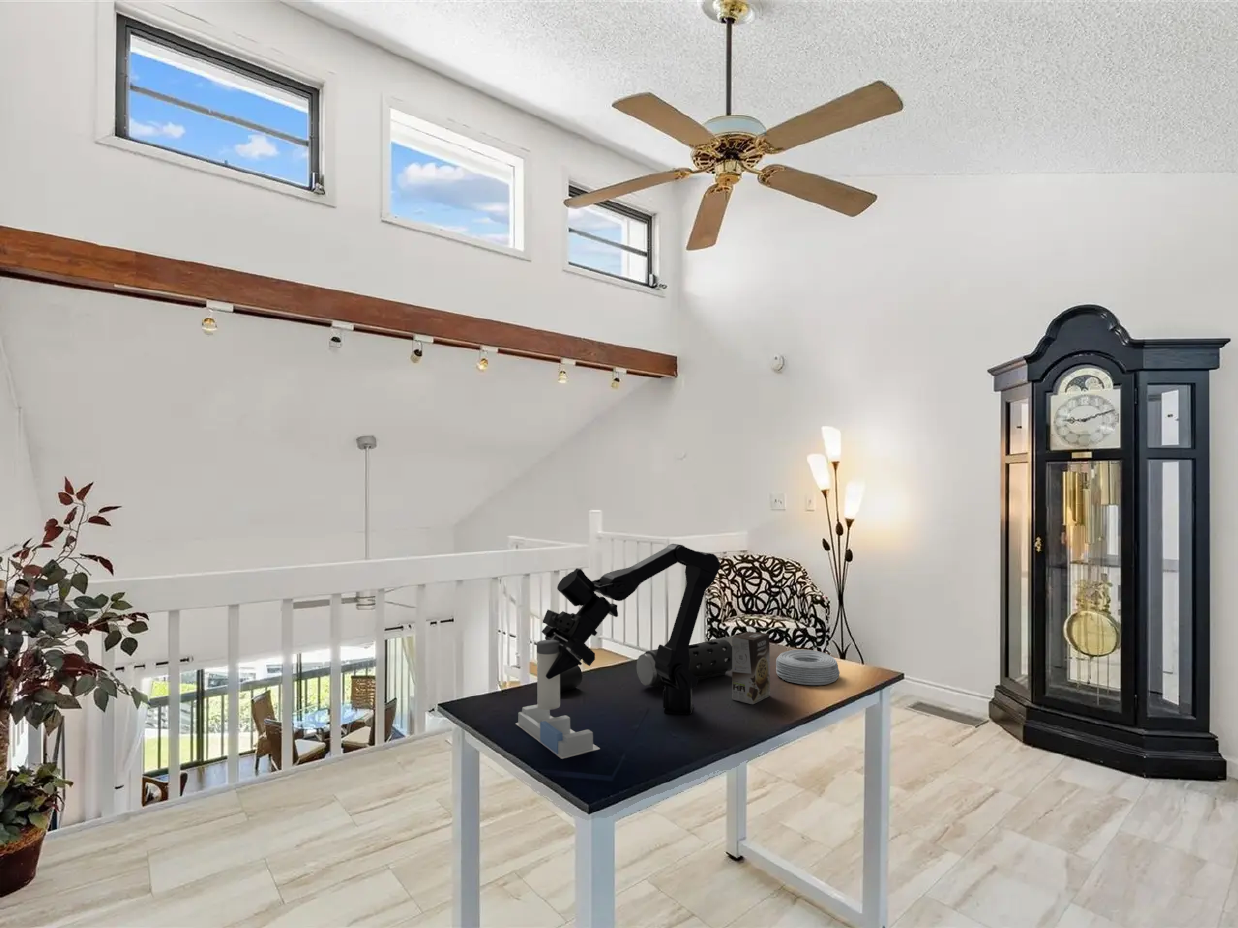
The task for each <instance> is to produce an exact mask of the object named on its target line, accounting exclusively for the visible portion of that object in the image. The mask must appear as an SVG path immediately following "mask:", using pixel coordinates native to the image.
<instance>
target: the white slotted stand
mask: <svg viewBox="0 0 1238 928" xmlns="http://www.w3.org/2000/svg"><path fill="white" fill-rule="evenodd" d="M517 716H518V720H517V721H518V722H516V723H515V725H516V726H518V727H519V728H521V729H522V730H523V731H524V732H526V733H527V734H528V735H530V736H531V737H532V738H533V739H535V740H536V741H538V742H539V743H540V744H542V745H543V746H544V747H545V748H547V749H548V750H549V751H551V752H552V753H553V754H555V755H556V756H557V757H559V758H560V759H562V760H563V759H567V758H570V757H574V756H579V755H583V754H587V753H590V752H595V751H598V750H601V748H600V747H598V745H595V744H594V732H593V731H592V730H590V729H583V730H580V731H575V730H573V729H572V728H571V717H570V716H568V715H565V714H564V715H561V716H556V717H554V716H552V715H551V710H543V709H539V708H538V707H537V704H533V705H527V706H523V707H522V709H521V711H519V712H518V714H517Z"/></svg>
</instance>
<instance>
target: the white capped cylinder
mask: <svg viewBox="0 0 1238 928" xmlns="http://www.w3.org/2000/svg"><path fill="white" fill-rule="evenodd" d="M559 645H560V642H559V641H557V640H546V639H542V640H539V641H537V642H536V665H537V668H536V673H537V675H536V679H537V680H536V682H537V683H536V685H537V686H536V687H537V688H536V689H537V694H536V695H537V696H536V697H537V698H536V699H537V704H536V705H537V707H538V708H539V709H543V710H550V711H551V710H556V709H558V708H560V707H561V692H560V674H559V675H557V676H555V677H553V678H551V679H548V678H547V677H546V674H547V672H548V671H549V669H550V668H551V666H552V664H553V663H554V661H555V660H556V658H557V657H558V655H559Z"/></svg>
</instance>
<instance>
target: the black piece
mask: <svg viewBox="0 0 1238 928" xmlns="http://www.w3.org/2000/svg"><path fill="white" fill-rule="evenodd" d="M582 682H583V672H582V669H581V667H580V665H578V666H576V667H573V668H571V669H569V670H567V671H565V672H563V673H561V674H560V693H563V692H567V691H569V690H570V689H571V690H574V689H576V688H577V687H579V686H580V685H581V684H582ZM573 688H574V689H573ZM571 690H570V691H571Z"/></svg>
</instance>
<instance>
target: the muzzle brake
mask: <svg viewBox="0 0 1238 928" xmlns="http://www.w3.org/2000/svg"><path fill="white" fill-rule="evenodd" d="M657 651H658V648H655V649H652V650H651V649H650V650H647V651H645V652H644V653H642V654H640V655H639V656H638V657H637V660H636V672H637V676H638V679H639V681H640V683H642V685H644V686H646V687H647V686H650V687H653V688H657V687H661V686H662V687H663V686H664V688H665V685H666V682H663V681H662V680H661V677H660V675H659V674H658V673H657V671H656V669H655V661H654V658H655V657H656V655H657ZM689 654H690V666H689V671H690V672H691V673H692V674H693V675H694V676H695V677H696V678H697V679H698V680H704V679H709V678H715V677H720V676H724V675H726V673H727V672H730V671H731V672H732V643H730V642H729V641H728V640H727V639H717V640H712V641H705V642H700V643H699V642H698V643H695V644H694V643H693V644H689Z"/></svg>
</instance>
